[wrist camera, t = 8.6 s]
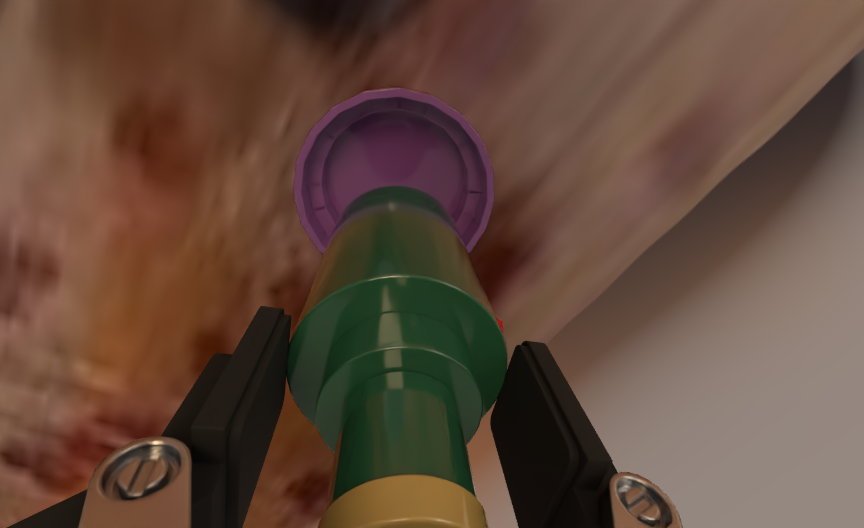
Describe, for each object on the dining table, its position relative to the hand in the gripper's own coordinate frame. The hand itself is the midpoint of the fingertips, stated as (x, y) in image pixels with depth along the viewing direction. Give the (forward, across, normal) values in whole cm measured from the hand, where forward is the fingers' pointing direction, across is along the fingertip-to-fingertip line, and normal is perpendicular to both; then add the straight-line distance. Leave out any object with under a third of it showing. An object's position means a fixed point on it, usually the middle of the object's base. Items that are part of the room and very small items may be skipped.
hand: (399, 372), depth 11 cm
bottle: (+9, 0, 0) cm, 9 cm away
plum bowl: (+22, 0, 0) cm, 22 cm away
